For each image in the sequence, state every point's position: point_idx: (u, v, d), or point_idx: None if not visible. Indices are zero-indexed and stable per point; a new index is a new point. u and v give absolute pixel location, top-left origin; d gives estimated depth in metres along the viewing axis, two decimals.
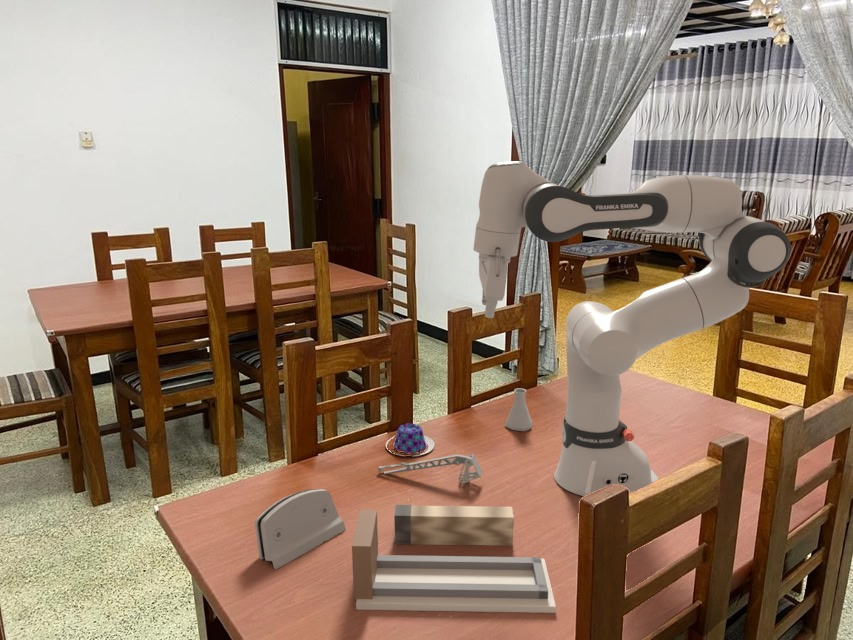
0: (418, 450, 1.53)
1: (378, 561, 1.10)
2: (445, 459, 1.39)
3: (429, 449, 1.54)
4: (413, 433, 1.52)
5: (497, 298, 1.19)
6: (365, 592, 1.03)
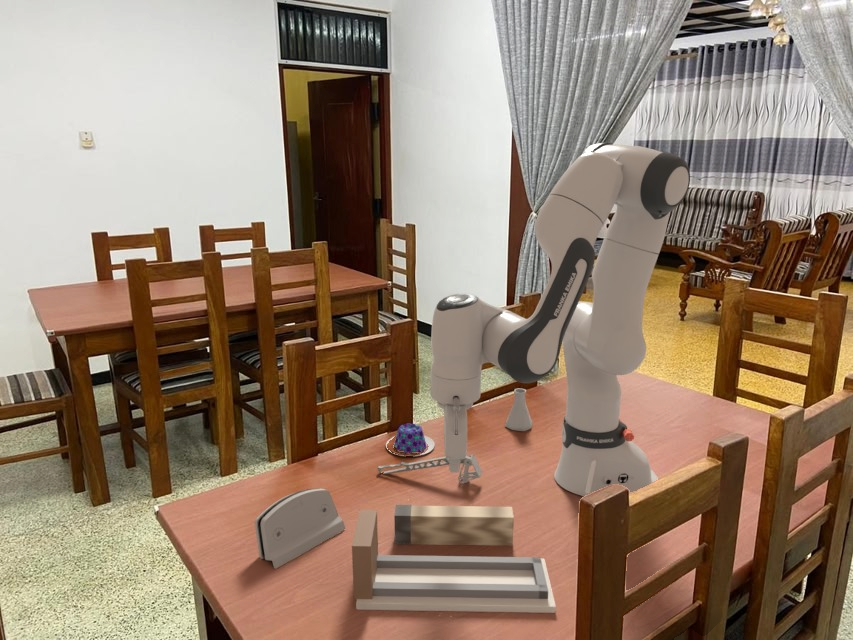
0: (418, 450, 1.53)
1: (378, 561, 1.10)
2: (444, 459, 1.39)
3: (429, 449, 1.54)
4: (413, 433, 1.52)
5: (458, 458, 1.04)
6: (365, 592, 1.03)
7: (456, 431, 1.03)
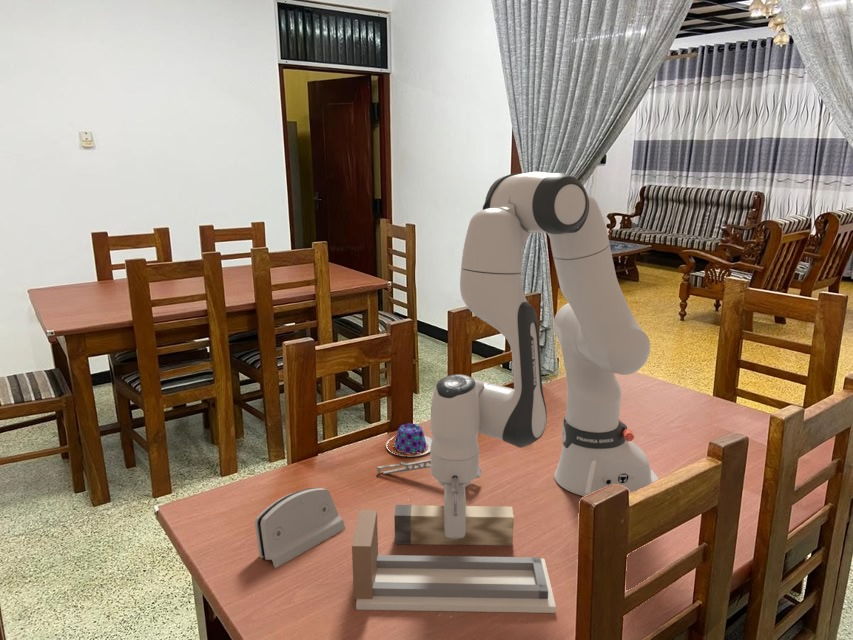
0: (417, 450, 1.53)
1: (378, 561, 1.10)
2: None
3: (428, 450, 1.53)
4: (412, 433, 1.52)
5: (458, 537, 1.09)
6: (365, 592, 1.03)
7: (455, 513, 1.07)
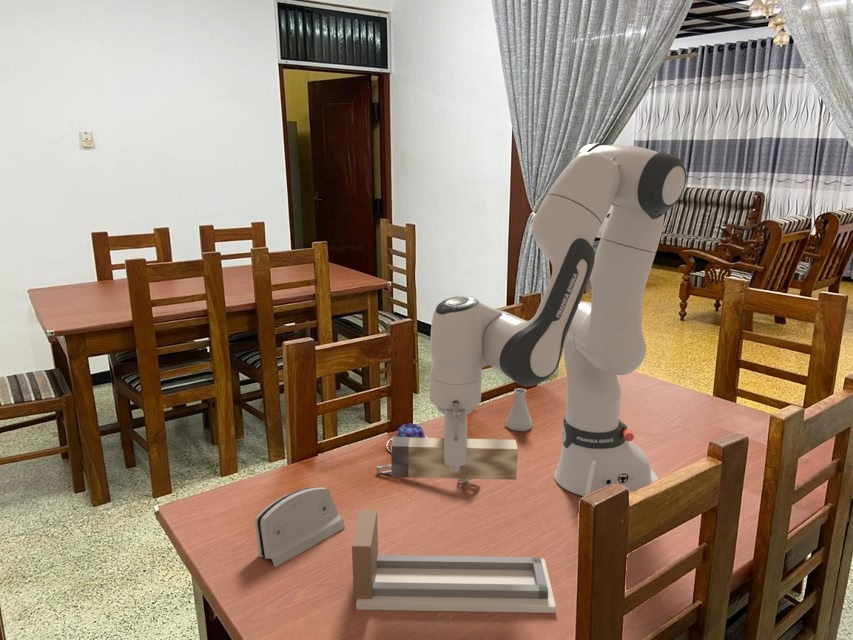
0: None
1: (378, 561, 1.10)
2: None
3: None
4: (412, 433, 1.52)
5: (458, 464, 1.02)
6: (365, 592, 1.03)
7: (456, 437, 1.01)
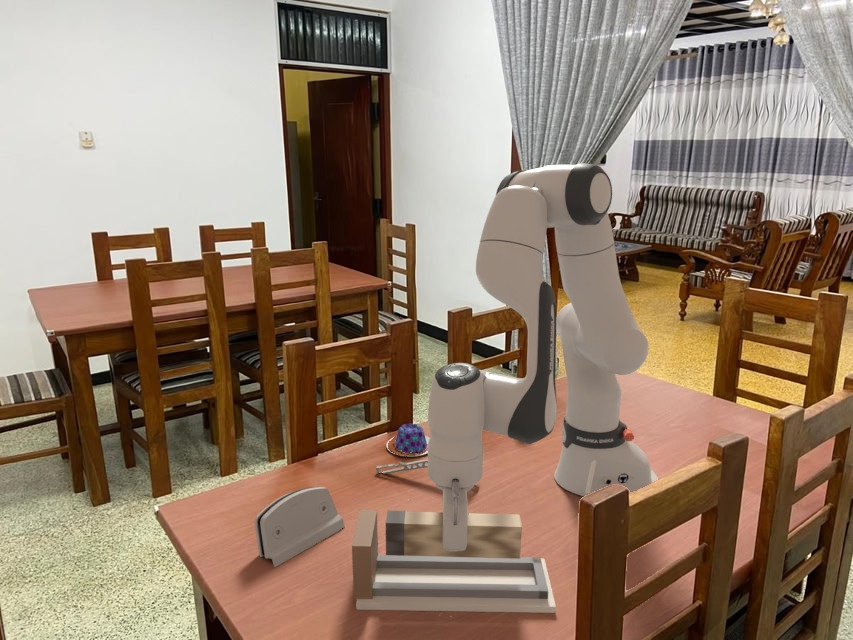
0: (415, 451, 1.52)
1: (378, 561, 1.10)
2: None
3: (427, 451, 1.53)
4: (411, 433, 1.52)
5: (458, 549, 0.95)
6: (365, 592, 1.03)
7: (455, 522, 0.93)
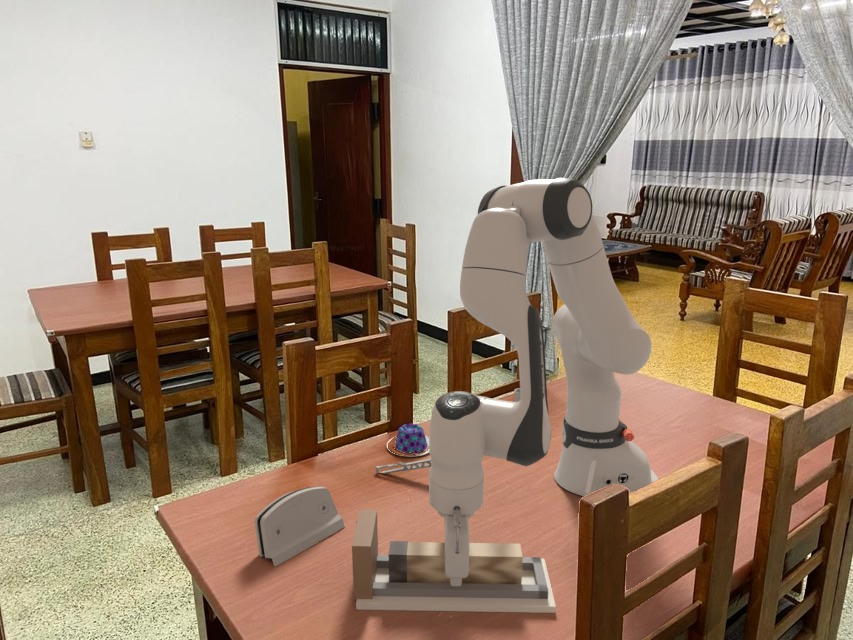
0: (414, 451, 1.52)
1: (378, 561, 1.10)
2: None
3: (426, 452, 1.53)
4: (411, 433, 1.52)
5: (460, 577, 0.96)
6: (365, 592, 1.03)
7: (457, 550, 0.94)
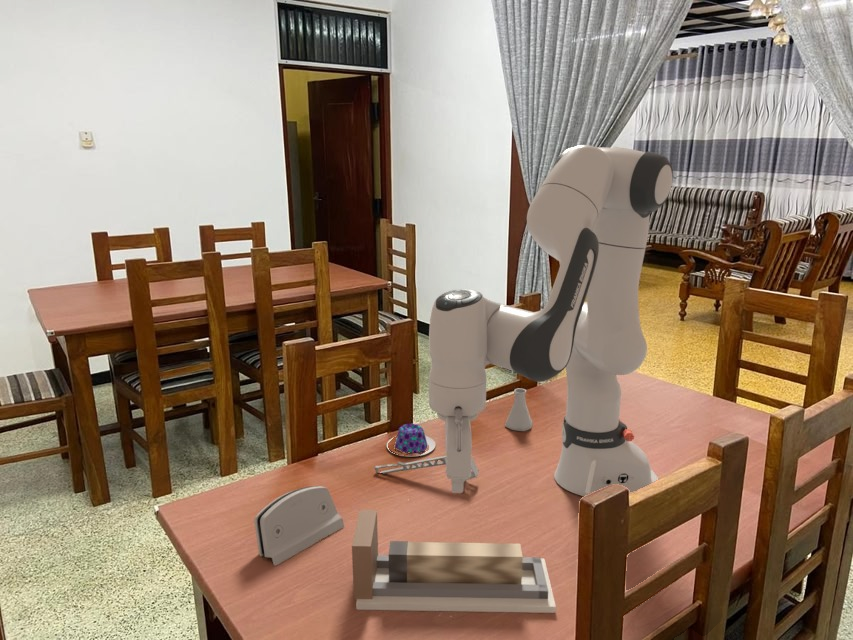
0: (413, 451, 1.52)
1: (378, 561, 1.10)
2: (441, 459, 1.39)
3: (425, 452, 1.52)
4: (410, 433, 1.52)
5: (462, 477, 0.91)
6: (365, 592, 1.03)
7: (459, 447, 0.90)
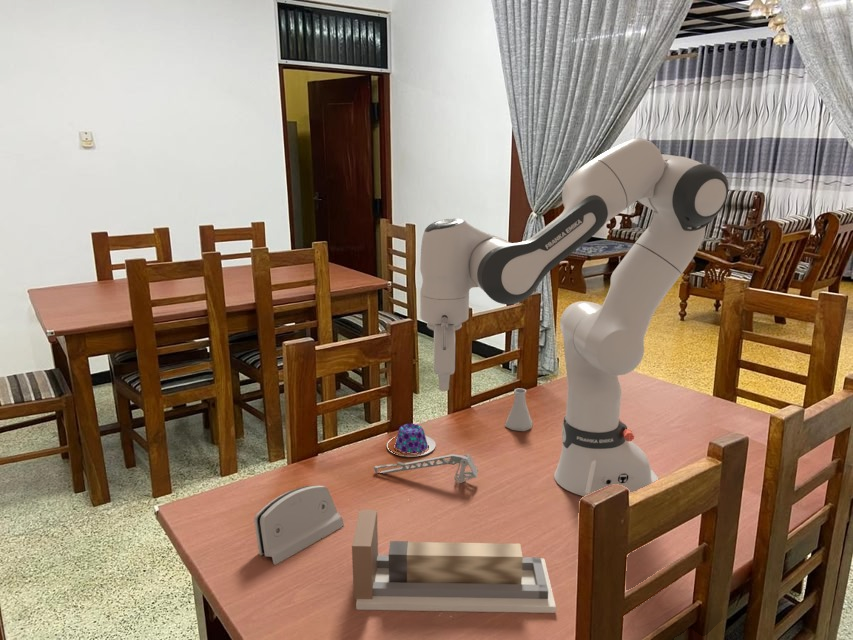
0: (413, 451, 1.52)
1: (378, 561, 1.10)
2: (441, 459, 1.39)
3: (425, 453, 1.52)
4: (410, 434, 1.52)
5: (447, 372, 1.09)
6: (365, 592, 1.03)
7: (444, 346, 1.07)
